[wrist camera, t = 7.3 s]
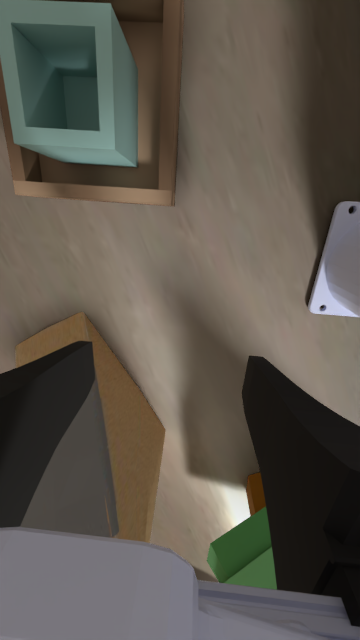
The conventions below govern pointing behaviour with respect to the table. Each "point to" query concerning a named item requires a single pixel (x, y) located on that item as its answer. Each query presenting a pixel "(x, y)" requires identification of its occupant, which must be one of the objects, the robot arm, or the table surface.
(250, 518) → the decorative tree
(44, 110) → the box
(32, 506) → the sandwich container
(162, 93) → the walnut crate
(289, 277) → the table surface
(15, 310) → the table surface
